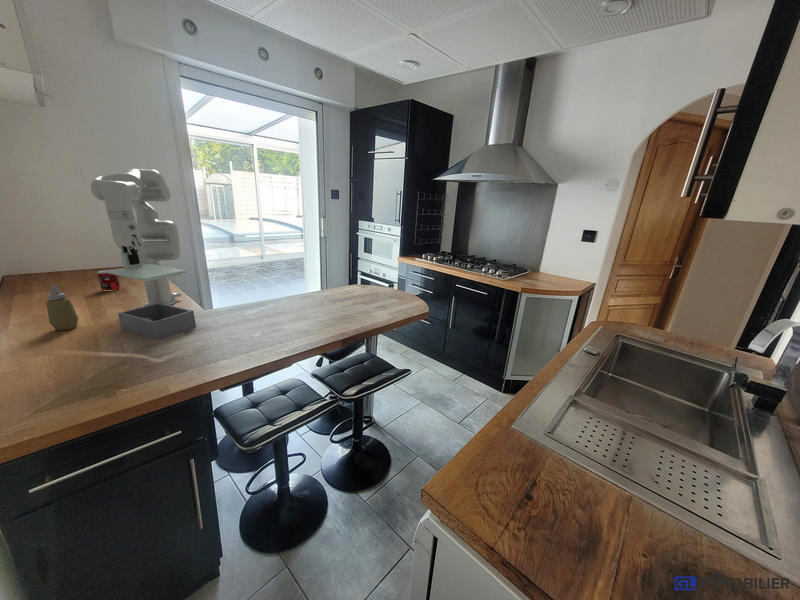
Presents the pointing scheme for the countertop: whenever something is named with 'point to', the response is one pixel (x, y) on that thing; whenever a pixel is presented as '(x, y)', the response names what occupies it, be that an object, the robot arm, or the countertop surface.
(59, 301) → the squeeze bottle
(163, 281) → the robot arm
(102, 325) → the countertop surface
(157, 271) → the lid
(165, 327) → the tub
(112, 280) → the canned food
